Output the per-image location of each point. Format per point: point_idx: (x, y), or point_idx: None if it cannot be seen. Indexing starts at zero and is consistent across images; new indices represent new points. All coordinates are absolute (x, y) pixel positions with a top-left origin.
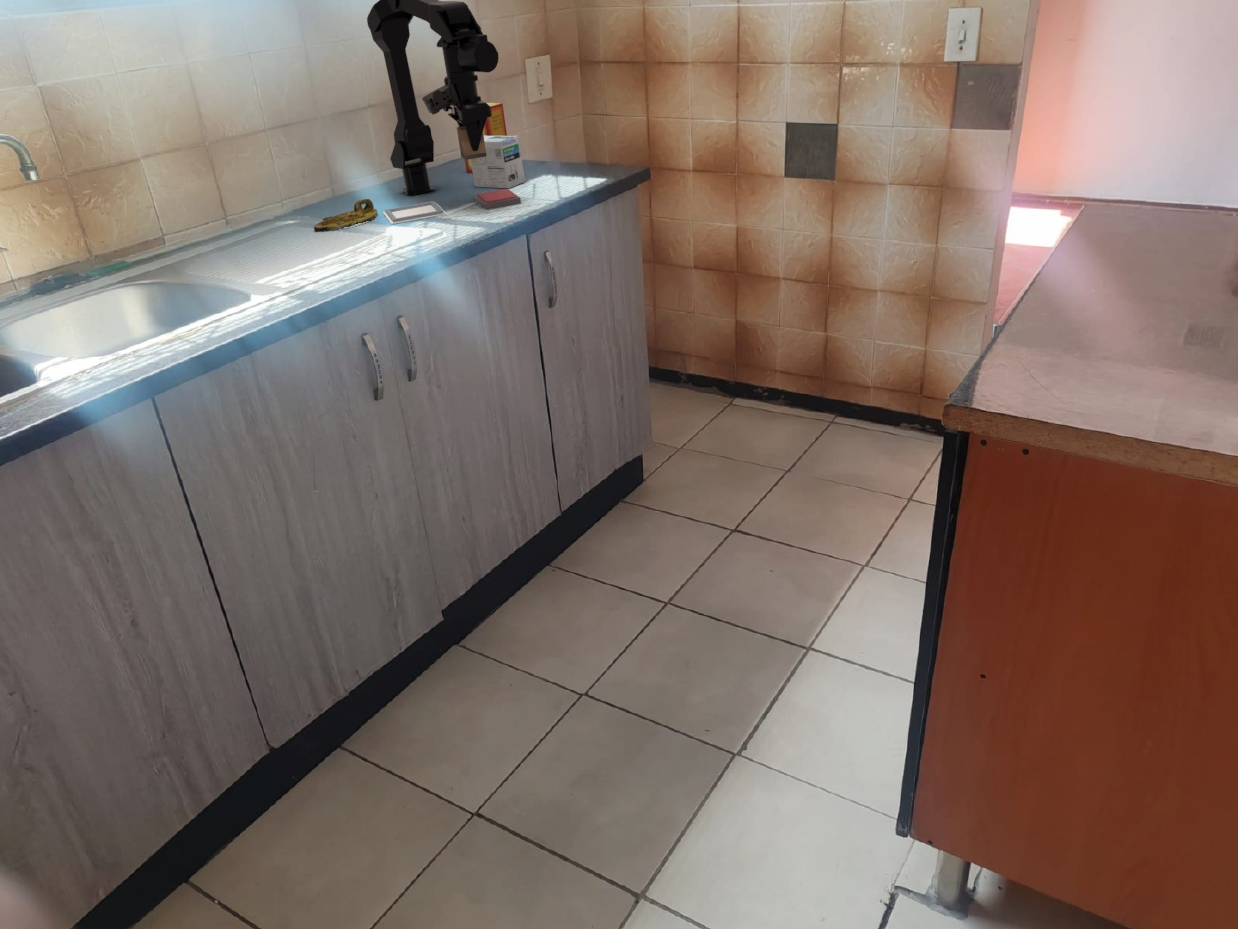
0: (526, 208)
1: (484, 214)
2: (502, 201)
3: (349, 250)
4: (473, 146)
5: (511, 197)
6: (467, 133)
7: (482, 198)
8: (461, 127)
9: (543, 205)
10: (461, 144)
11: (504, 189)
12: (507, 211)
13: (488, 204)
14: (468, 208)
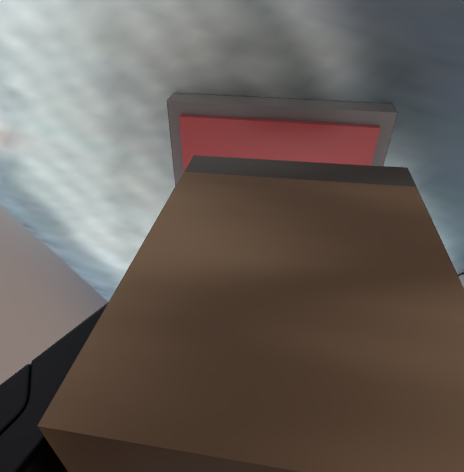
0: (101, 215)
1: (92, 62)
2: (175, 177)
3: None
4: None
5: None
6: (34, 397)
7: (257, 120)
8: None
9: (111, 261)
10: (292, 240)
11: None
12: (93, 154)
13: (170, 116)
14: (260, 26)
